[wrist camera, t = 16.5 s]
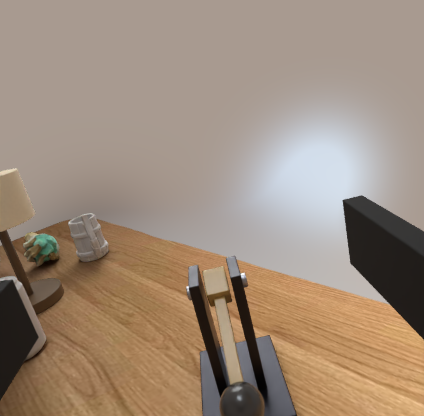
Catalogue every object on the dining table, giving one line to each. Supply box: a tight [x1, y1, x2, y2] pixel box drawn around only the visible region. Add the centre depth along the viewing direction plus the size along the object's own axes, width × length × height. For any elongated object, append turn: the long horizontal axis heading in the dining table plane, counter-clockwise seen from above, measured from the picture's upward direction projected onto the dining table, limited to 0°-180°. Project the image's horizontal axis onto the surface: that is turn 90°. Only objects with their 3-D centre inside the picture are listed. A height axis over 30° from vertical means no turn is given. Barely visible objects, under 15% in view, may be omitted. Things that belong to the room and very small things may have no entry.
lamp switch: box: [202, 266, 265, 416], centre depth 33 cm, size 14×4×4 cm, turn 4°
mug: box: [68, 214, 109, 262], centre depth 87 cm, size 8×12×12 cm, turn 31°
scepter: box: [23, 232, 59, 266], centre depth 100 cm, size 9×8×30 cm
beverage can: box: [0, 276, 46, 360], centre depth 55 cm, size 6×6×12 cm
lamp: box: [0, 169, 64, 314], centre depth 69 cm, size 13×13×26 cm
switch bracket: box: [186, 256, 297, 416], centre depth 38 cm, size 12×9×15 cm
